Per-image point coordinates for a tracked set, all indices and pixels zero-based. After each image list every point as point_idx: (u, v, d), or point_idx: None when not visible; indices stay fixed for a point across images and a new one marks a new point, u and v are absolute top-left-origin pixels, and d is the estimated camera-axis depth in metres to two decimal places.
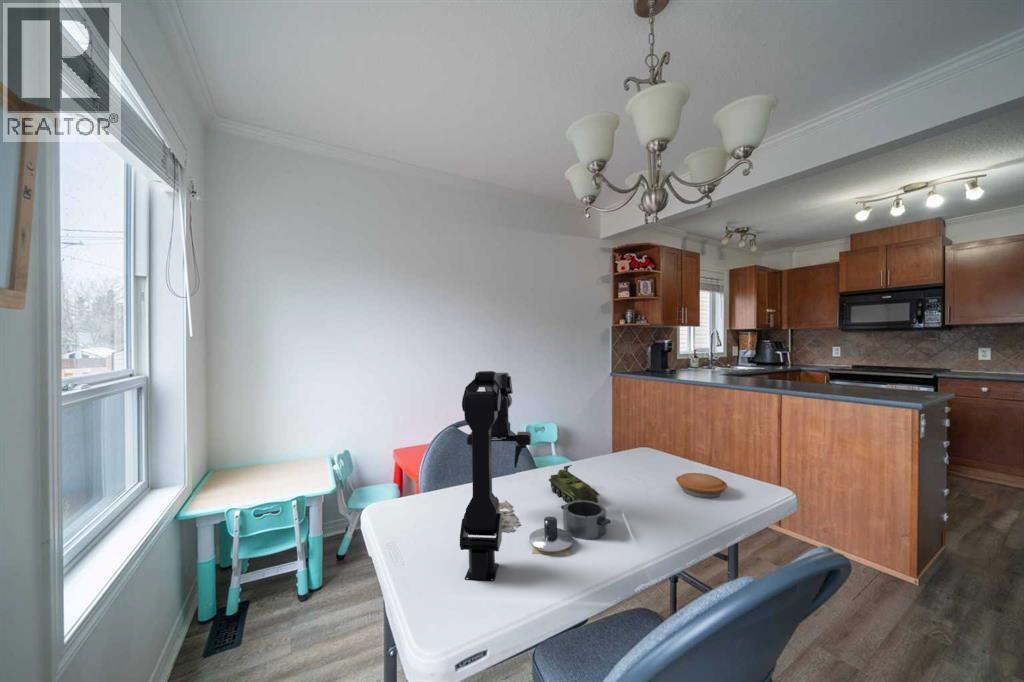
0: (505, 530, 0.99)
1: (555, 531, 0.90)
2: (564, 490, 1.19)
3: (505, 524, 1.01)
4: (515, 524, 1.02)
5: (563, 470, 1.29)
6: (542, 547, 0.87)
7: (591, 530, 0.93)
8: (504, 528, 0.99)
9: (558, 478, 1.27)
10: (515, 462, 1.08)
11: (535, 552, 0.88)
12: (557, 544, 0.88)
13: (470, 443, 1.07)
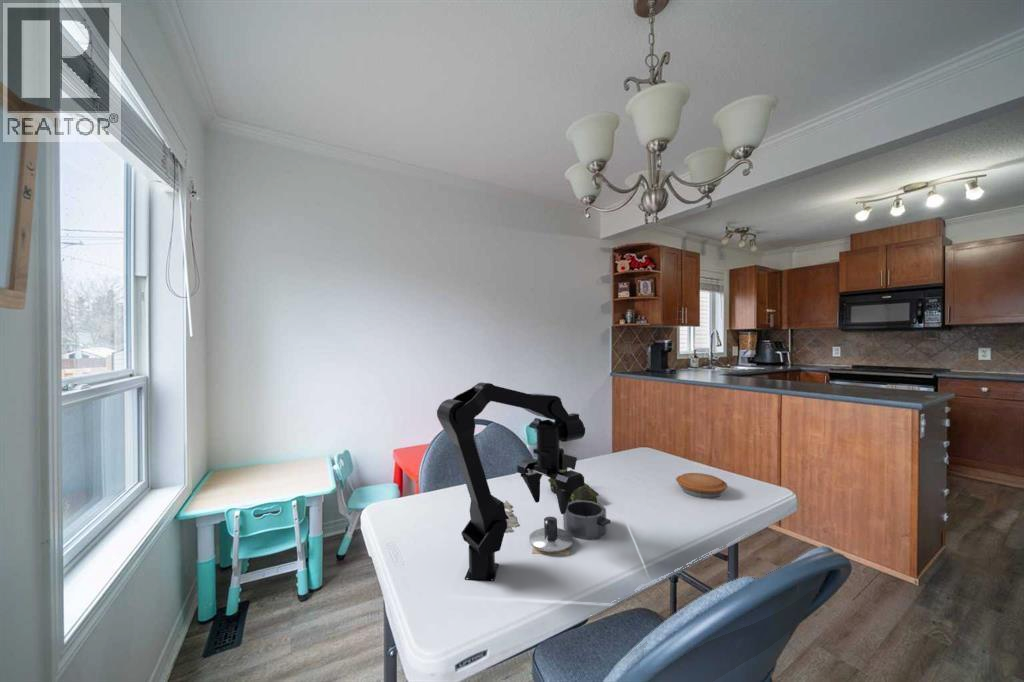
0: None
1: (555, 531, 0.90)
2: None
3: None
4: (514, 524, 1.02)
5: (562, 470, 1.29)
6: (542, 547, 0.87)
7: (591, 530, 0.93)
8: None
9: None
10: (560, 507, 0.87)
11: (535, 552, 0.88)
12: (557, 544, 0.88)
13: (518, 471, 0.96)
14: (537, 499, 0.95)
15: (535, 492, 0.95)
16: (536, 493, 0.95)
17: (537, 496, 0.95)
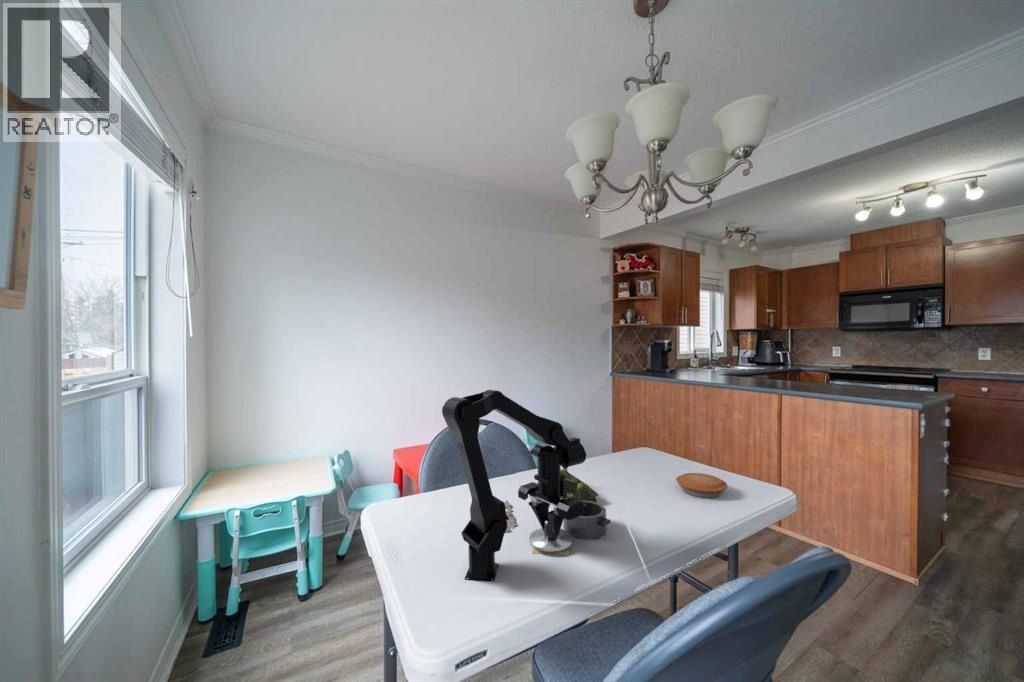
0: None
1: None
2: None
3: None
4: (512, 525, 1.02)
5: (562, 470, 1.29)
6: (542, 547, 0.87)
7: (591, 530, 0.93)
8: None
9: None
10: (552, 531, 0.89)
11: (535, 552, 0.88)
12: (557, 544, 0.88)
13: (519, 496, 0.96)
14: None
15: None
16: None
17: None
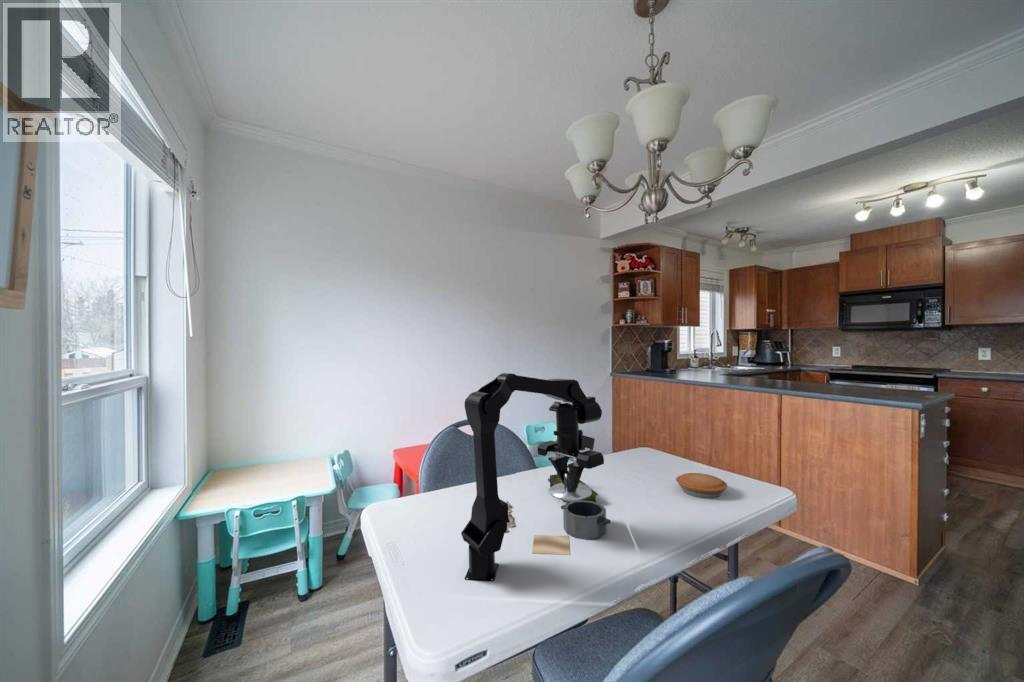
0: None
1: None
2: None
3: None
4: (510, 525, 1.02)
5: None
6: (563, 497, 0.92)
7: (591, 530, 0.93)
8: None
9: (557, 478, 1.27)
10: (572, 482, 0.94)
11: (535, 552, 0.88)
12: (577, 494, 0.93)
13: (539, 453, 1.01)
14: None
15: (563, 475, 0.97)
16: None
17: None
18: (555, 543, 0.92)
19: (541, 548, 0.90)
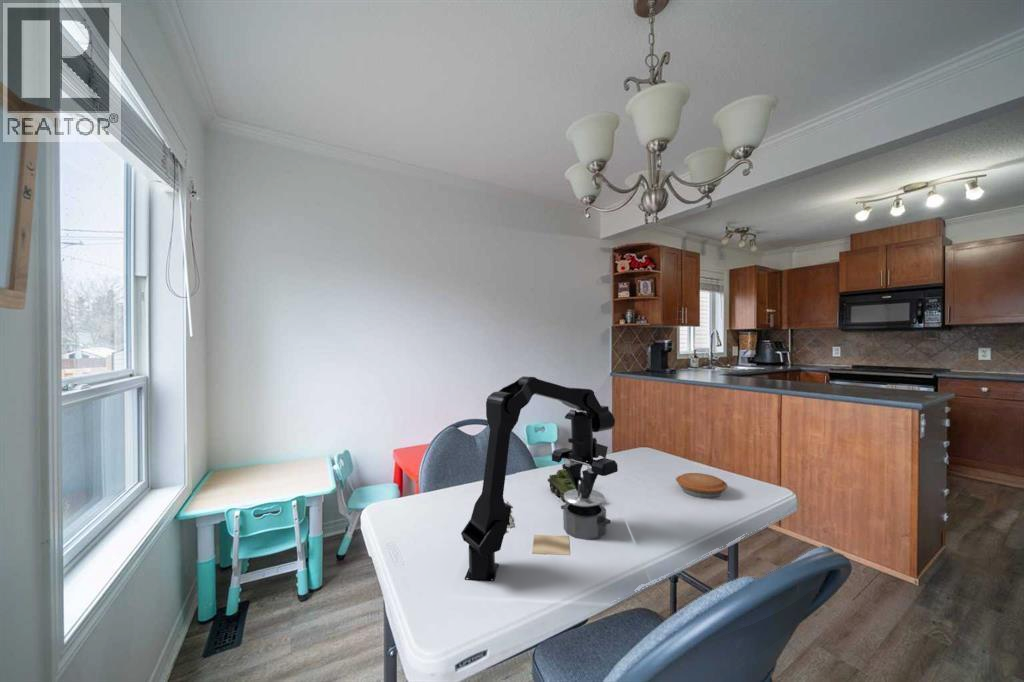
0: None
1: None
2: (562, 490, 1.19)
3: None
4: None
5: (562, 470, 1.29)
6: (577, 502, 0.95)
7: (591, 530, 0.93)
8: None
9: (557, 478, 1.27)
10: (586, 489, 0.97)
11: (535, 552, 0.88)
12: (590, 500, 0.96)
13: (553, 459, 1.04)
14: None
15: None
16: (577, 482, 1.00)
17: None
18: (555, 543, 0.92)
19: (541, 548, 0.90)
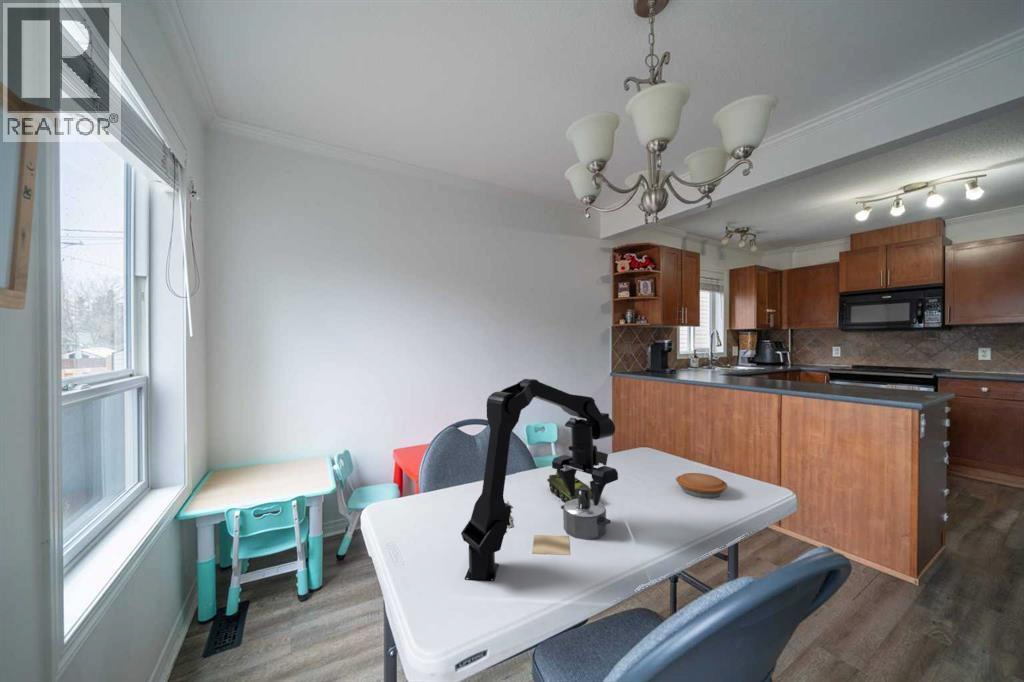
0: None
1: (588, 500, 0.98)
2: (562, 490, 1.19)
3: None
4: None
5: None
6: (578, 513, 0.95)
7: (591, 530, 0.93)
8: None
9: (556, 478, 1.27)
10: (593, 499, 0.95)
11: (535, 552, 0.88)
12: (591, 511, 0.96)
13: (553, 467, 1.04)
14: (572, 493, 1.02)
15: (571, 487, 1.02)
16: (571, 488, 1.02)
17: (572, 490, 1.02)
18: (555, 543, 0.92)
19: (541, 548, 0.90)
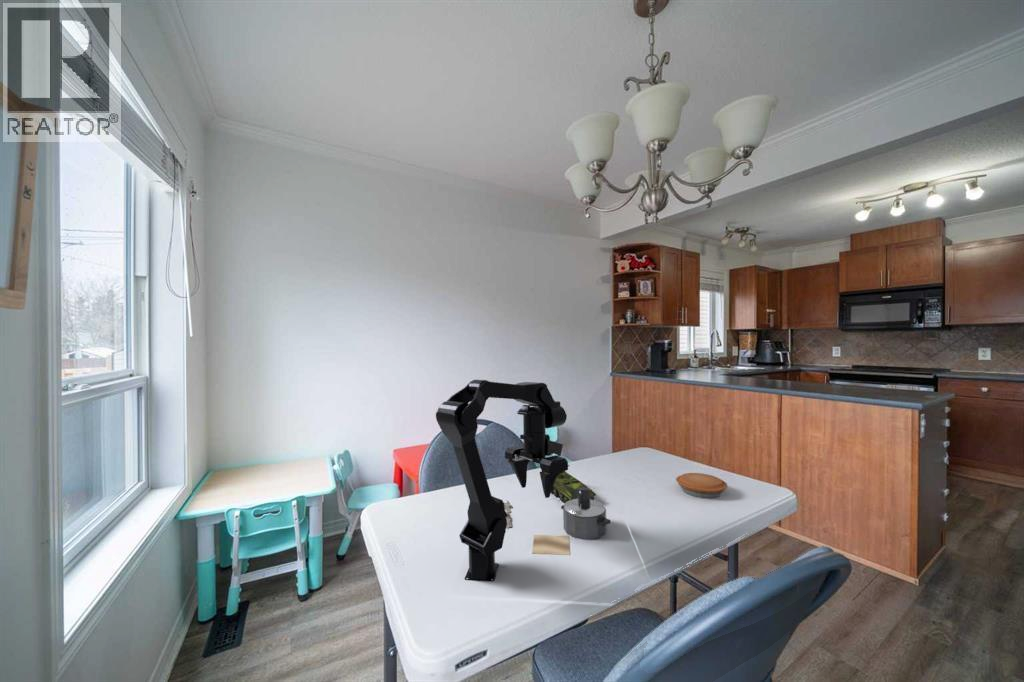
0: None
1: (588, 500, 0.98)
2: (561, 490, 1.19)
3: None
4: (507, 526, 1.01)
5: None
6: (578, 513, 0.95)
7: (591, 530, 0.93)
8: None
9: None
10: (544, 491, 0.90)
11: (535, 552, 0.88)
12: (591, 511, 0.96)
13: (506, 457, 0.99)
14: (523, 484, 0.98)
15: (522, 477, 0.98)
16: (523, 478, 0.98)
17: (523, 481, 0.98)
18: (555, 543, 0.92)
19: (541, 548, 0.90)
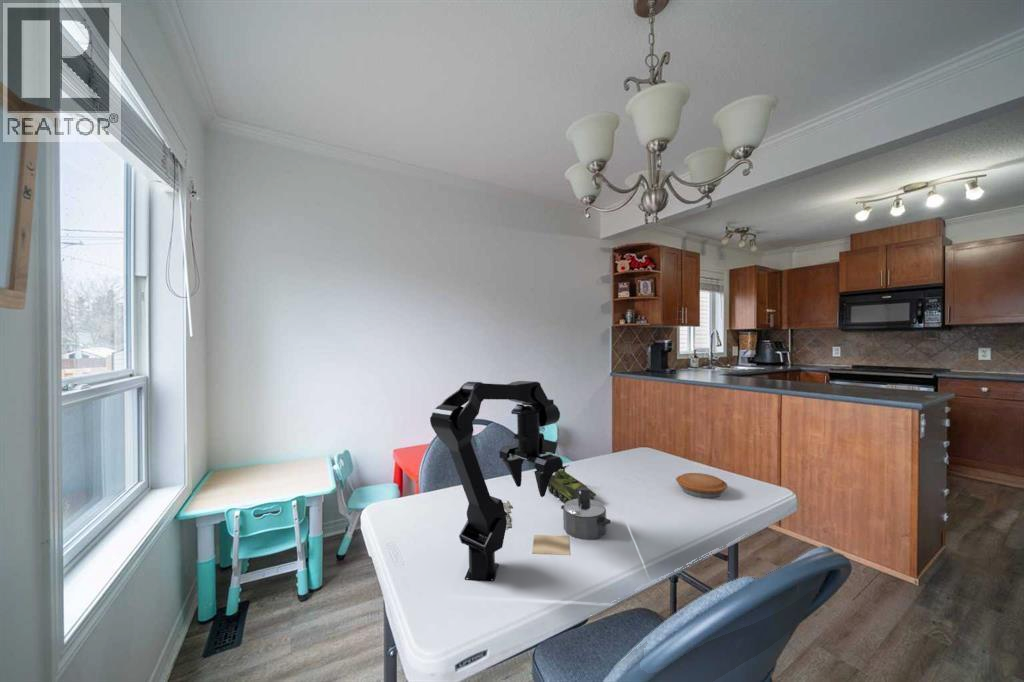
0: None
1: (588, 500, 0.98)
2: (561, 491, 1.18)
3: None
4: (506, 526, 1.01)
5: (560, 470, 1.29)
6: (578, 513, 0.95)
7: (591, 530, 0.93)
8: None
9: (555, 478, 1.27)
10: (539, 490, 0.90)
11: (535, 552, 0.88)
12: (591, 511, 0.96)
13: (500, 456, 0.99)
14: (519, 483, 0.97)
15: (517, 476, 0.97)
16: (518, 477, 0.97)
17: (518, 480, 0.97)
18: (555, 543, 0.92)
19: (541, 548, 0.90)
